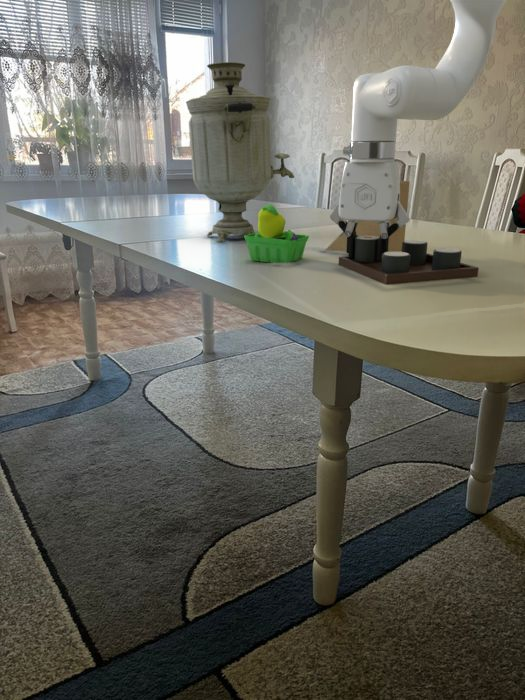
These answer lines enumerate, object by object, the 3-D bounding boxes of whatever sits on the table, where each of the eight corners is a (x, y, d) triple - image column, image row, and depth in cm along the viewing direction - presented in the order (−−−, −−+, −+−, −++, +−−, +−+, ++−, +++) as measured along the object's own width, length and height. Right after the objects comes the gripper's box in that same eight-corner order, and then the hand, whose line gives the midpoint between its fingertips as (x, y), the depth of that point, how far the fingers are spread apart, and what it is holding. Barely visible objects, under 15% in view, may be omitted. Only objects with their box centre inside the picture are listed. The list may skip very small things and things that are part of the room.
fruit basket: (310, 260, 110) (311, 203, 106) (288, 268, 103) (289, 206, 99) (262, 255, 116) (262, 200, 112) (239, 262, 109) (237, 204, 105)
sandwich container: (344, 245, 127) (347, 178, 122) (404, 252, 117) (410, 180, 112) (323, 250, 121) (325, 180, 116) (384, 258, 111) (390, 182, 106)
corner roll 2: (430, 264, 102) (432, 242, 100) (409, 266, 100) (411, 244, 99) (416, 260, 106) (418, 239, 104) (396, 262, 105) (397, 240, 103)
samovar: (296, 247, 125) (299, 52, 112) (183, 247, 126) (173, 54, 112) (293, 230, 153) (295, 73, 140) (200, 230, 154) (193, 74, 140)
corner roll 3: (464, 275, 93) (467, 251, 91) (441, 277, 91) (444, 252, 90) (448, 270, 97) (450, 247, 96) (426, 271, 96) (428, 248, 94)
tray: (477, 279, 92) (479, 267, 91) (385, 288, 87) (386, 275, 86) (418, 261, 108) (419, 251, 107) (338, 267, 103) (338, 256, 102)
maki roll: (383, 261, 98) (385, 238, 97) (361, 262, 97) (362, 239, 96) (371, 256, 103) (372, 234, 101) (349, 258, 101) (350, 235, 100)
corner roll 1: (414, 279, 90) (416, 254, 89) (389, 281, 89) (391, 256, 87) (399, 274, 94) (401, 250, 93) (375, 276, 93) (377, 252, 91)
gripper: (318, 154, 94) (316, 258, 100) (417, 153, 87) (408, 266, 93) (333, 153, 100) (330, 252, 107) (427, 153, 93) (417, 259, 99)
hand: (366, 257), depth 100 cm, fingers closed on maki roll, 4 cm apart
